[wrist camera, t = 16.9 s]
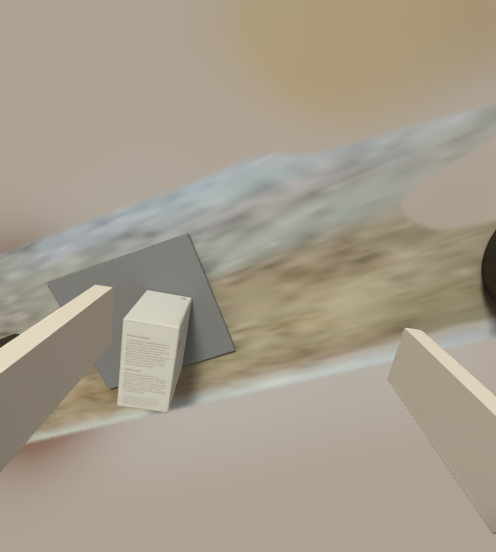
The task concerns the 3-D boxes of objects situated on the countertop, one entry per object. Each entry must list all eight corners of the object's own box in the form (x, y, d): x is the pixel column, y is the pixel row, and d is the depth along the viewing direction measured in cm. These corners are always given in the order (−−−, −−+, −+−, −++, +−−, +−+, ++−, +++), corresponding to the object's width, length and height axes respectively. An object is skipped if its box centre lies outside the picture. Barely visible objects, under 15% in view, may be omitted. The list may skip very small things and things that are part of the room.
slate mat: (188, 233, 35) (187, 234, 34) (235, 348, 40) (235, 350, 39) (48, 281, 36) (46, 283, 36) (110, 386, 41) (108, 389, 41)
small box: (139, 363, 39) (146, 288, 36) (182, 369, 40) (193, 296, 37) (114, 407, 32) (121, 317, 29) (168, 414, 32) (180, 326, 29)
